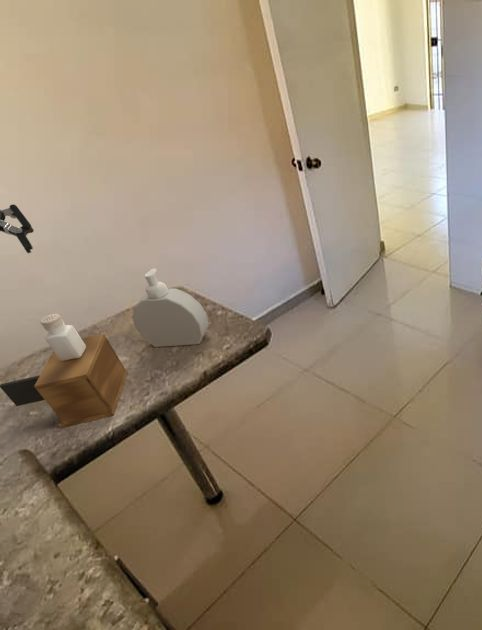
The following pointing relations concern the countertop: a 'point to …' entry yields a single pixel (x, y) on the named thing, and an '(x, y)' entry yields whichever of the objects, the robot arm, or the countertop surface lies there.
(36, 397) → the dark grey block
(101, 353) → the wooden box
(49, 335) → the white bottle
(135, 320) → the soap bottle
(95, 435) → the countertop surface
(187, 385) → the countertop surface
